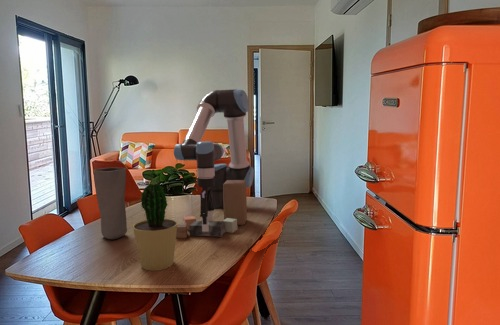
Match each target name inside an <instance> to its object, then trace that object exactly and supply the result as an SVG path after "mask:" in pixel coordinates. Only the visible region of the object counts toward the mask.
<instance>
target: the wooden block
mask: <svg viewBox="0 0 500 325" xmlns="http://www.w3.org/2000/svg"><path fill="white" fill-rule="evenodd" d="M247 200H248V199H247V188H246V181H245V180H227V181H226V182H225V183H224V184H223V201H224V208H223V220H225V219H226V218H232V219H237V226H244V225H245V224H246V222H247V220H248V219H247V218H248V212H247V211H248V208H247V207H248V206H247V203H248V202H247Z"/></svg>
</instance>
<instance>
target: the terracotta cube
mask: <svg viewBox="0 0 500 325" xmlns="http://www.w3.org/2000/svg"><path fill="white" fill-rule="evenodd" d="M182 219H183V223H182V224H186V223H187V231H189V226H190V225H191V224H192V223H193V222H195V221H197V218H196V216H195V215H188V216H183V218H182Z"/></svg>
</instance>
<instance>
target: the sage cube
mask: <svg viewBox="0 0 500 325" xmlns="http://www.w3.org/2000/svg"><path fill="white" fill-rule="evenodd" d="M222 221H225V228H226V232H225V233H234V232H236V231H237V230H238V225H237V219H232V218H226V219H225V220H224V219H223V220H222Z"/></svg>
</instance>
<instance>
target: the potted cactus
mask: <svg viewBox="0 0 500 325" xmlns="http://www.w3.org/2000/svg"><path fill="white" fill-rule="evenodd" d="M160 184H161V183H149V184H147V185H146V186H145V187H143V189H142V188H140V189H142V191H141V193H140V197H139V200H140V202H141V209H142V212H144V213H145V214H143V216H145V217H146V219H145V220H141V221H138V222H136V223H134V224H133V225H132V229H133V233H134V234H133V235H134V239H135V244H136V248H137V253H138V257H139V263H140V267H141V269H143V270H145V271H161V270H165V269H168V267H169V268H170V267H172V266H173V265H174V259H175V252H176V241H177V240H176V239H177V238H176V232H177V224H178V221H177V220H175V219H171V218H167V215H166V214H167V211H166V210H168V206H170V205H169V204H168V201H169V199H167V195H168V194H166V192H165V189H164V187H165V186H164V187H163V186H161V185H160Z"/></svg>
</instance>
